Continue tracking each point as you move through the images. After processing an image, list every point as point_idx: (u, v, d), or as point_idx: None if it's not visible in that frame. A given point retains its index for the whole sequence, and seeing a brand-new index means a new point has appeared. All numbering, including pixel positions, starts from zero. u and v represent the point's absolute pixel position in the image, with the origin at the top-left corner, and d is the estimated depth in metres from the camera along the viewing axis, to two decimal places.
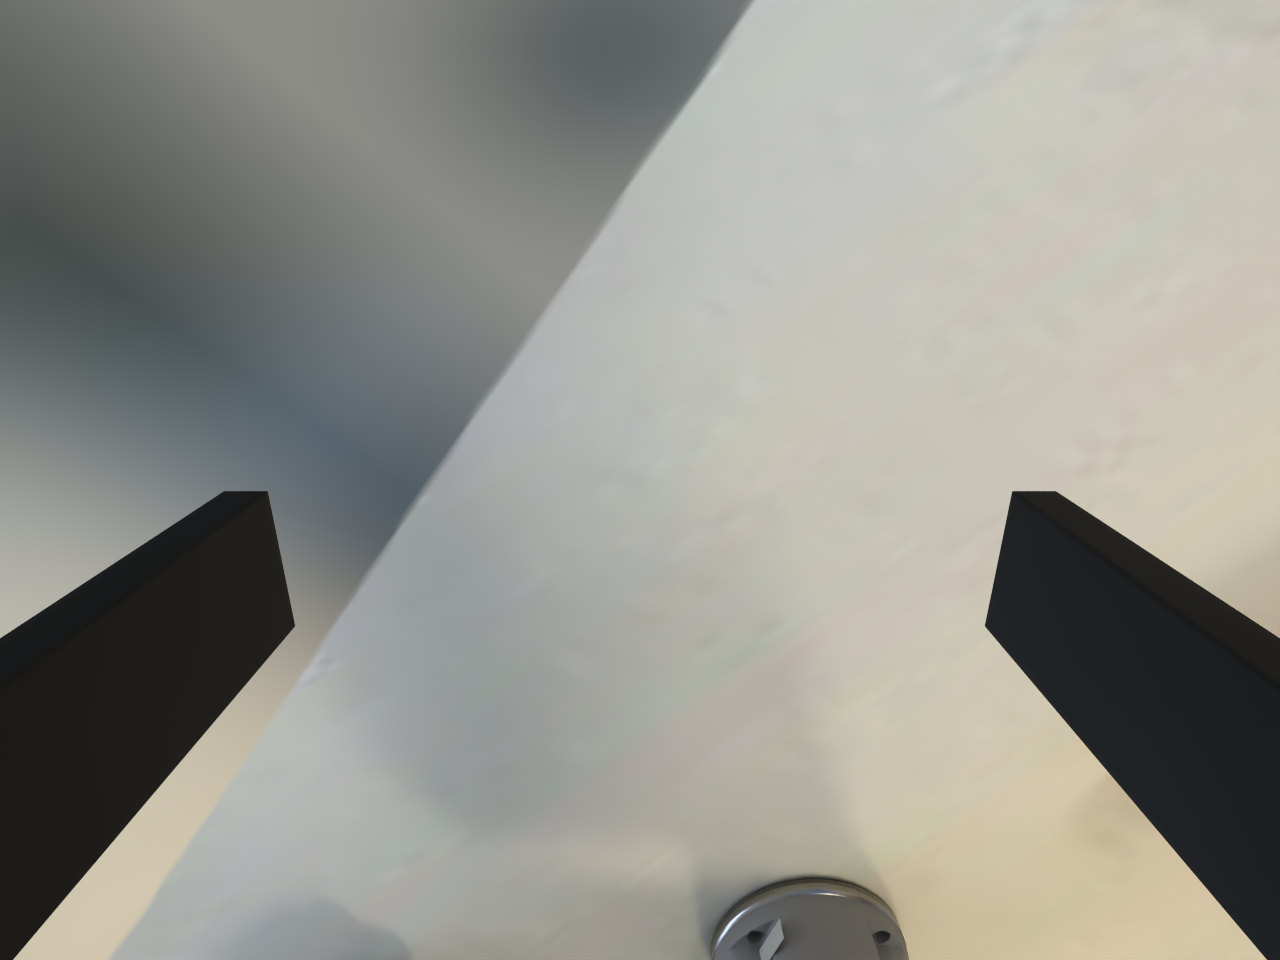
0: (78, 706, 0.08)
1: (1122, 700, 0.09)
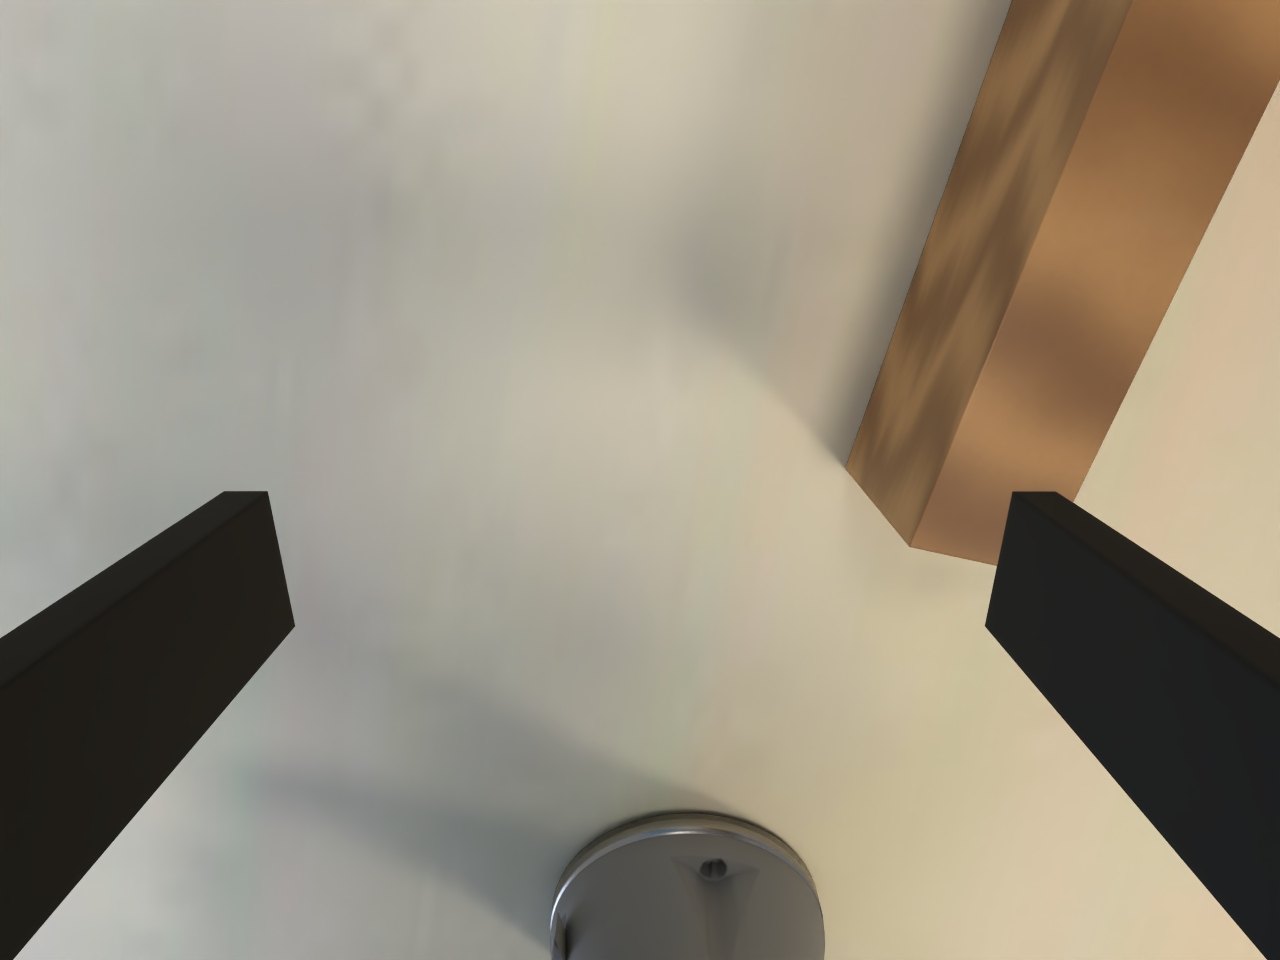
0: (78, 706, 0.08)
1: (1122, 700, 0.09)
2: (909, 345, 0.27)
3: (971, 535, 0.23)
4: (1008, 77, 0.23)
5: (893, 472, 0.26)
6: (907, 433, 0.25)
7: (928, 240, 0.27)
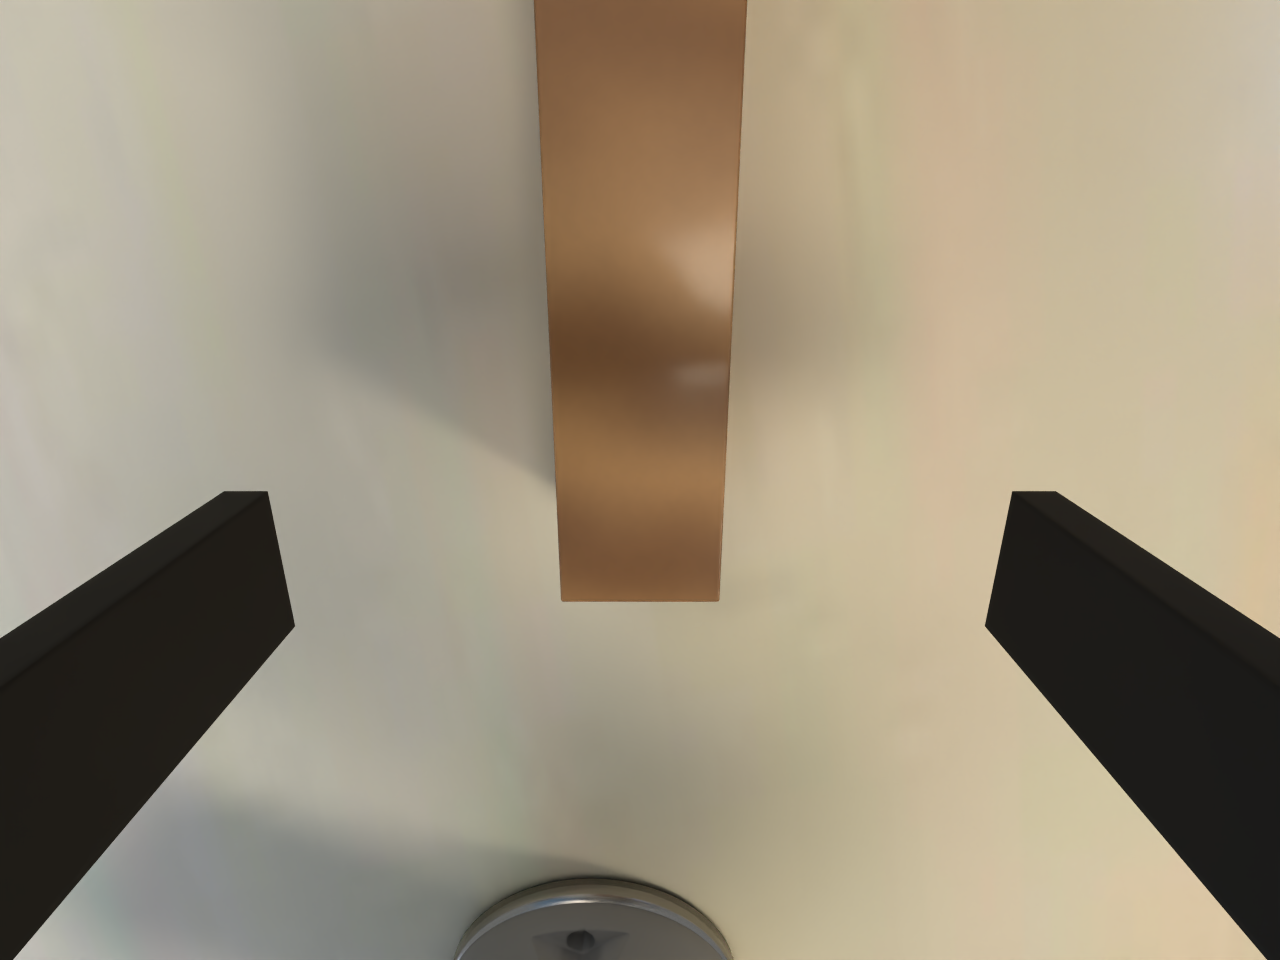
0: (78, 705, 0.08)
1: (1122, 700, 0.09)
2: None
3: (624, 575, 0.20)
4: None
5: None
6: None
7: None
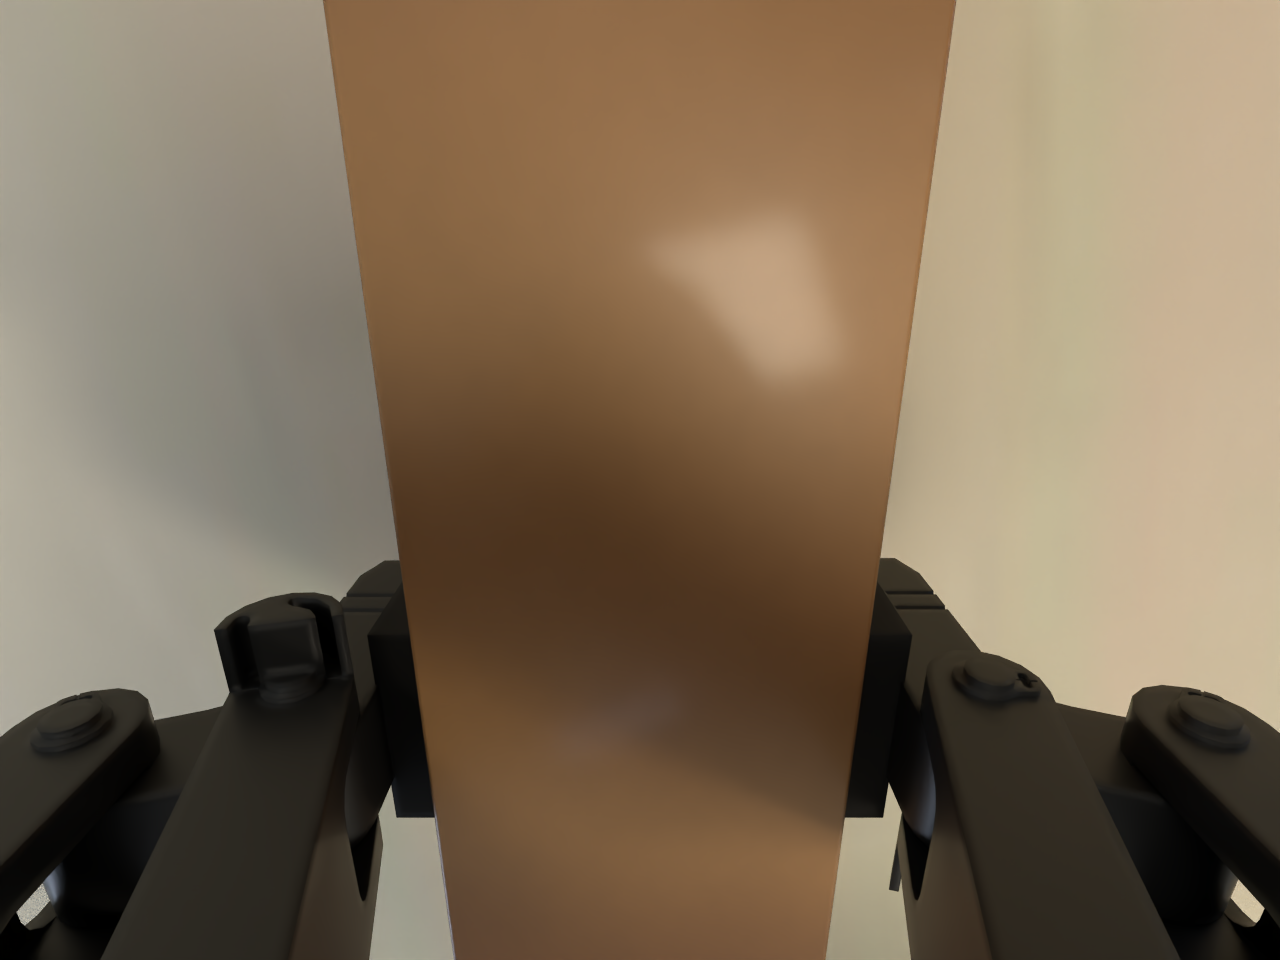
0: None
1: None
2: None
3: None
4: None
5: None
6: None
7: None
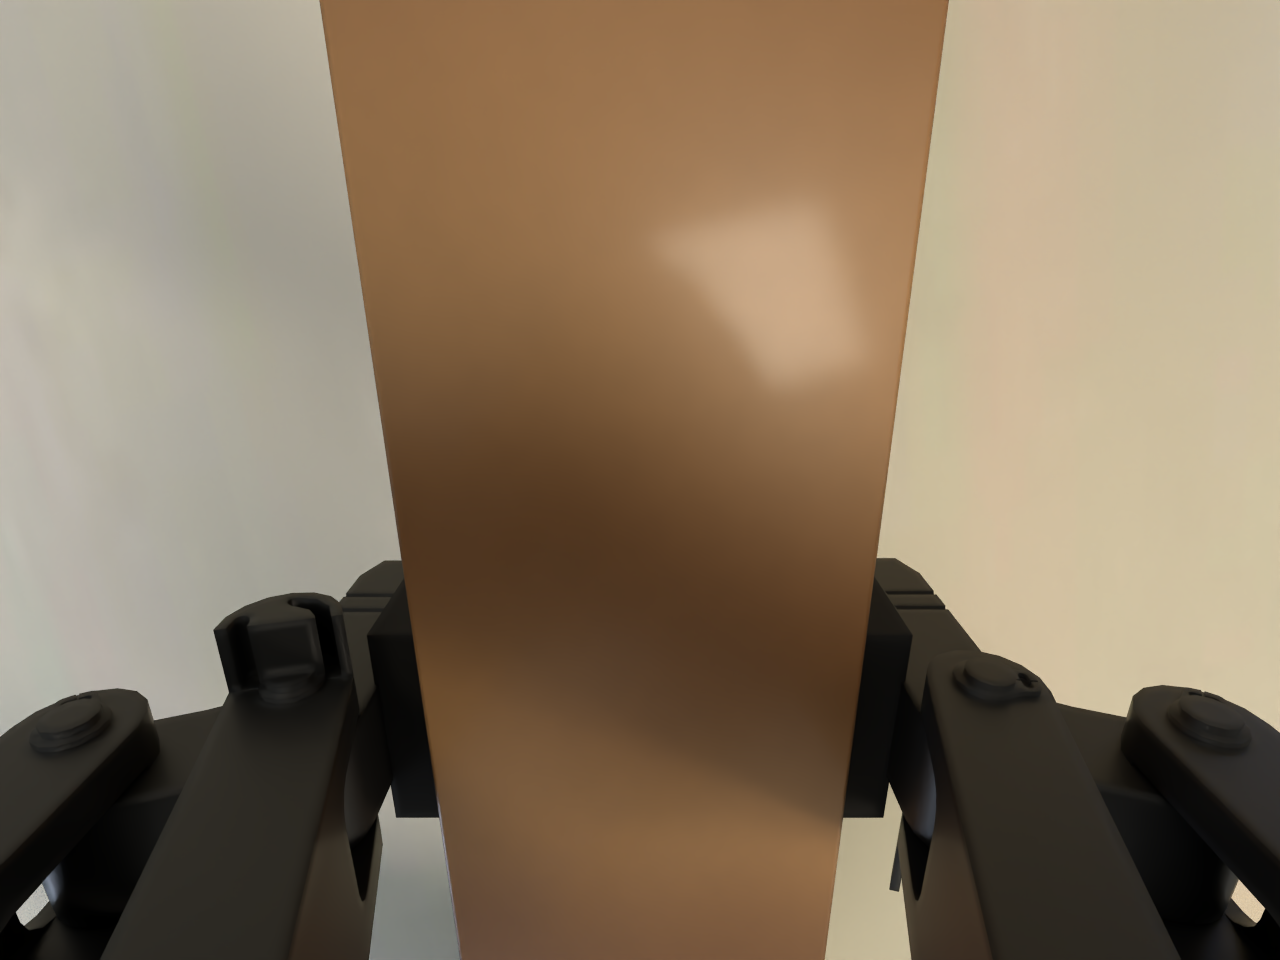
0: None
1: None
2: None
3: None
4: None
5: None
6: None
7: None
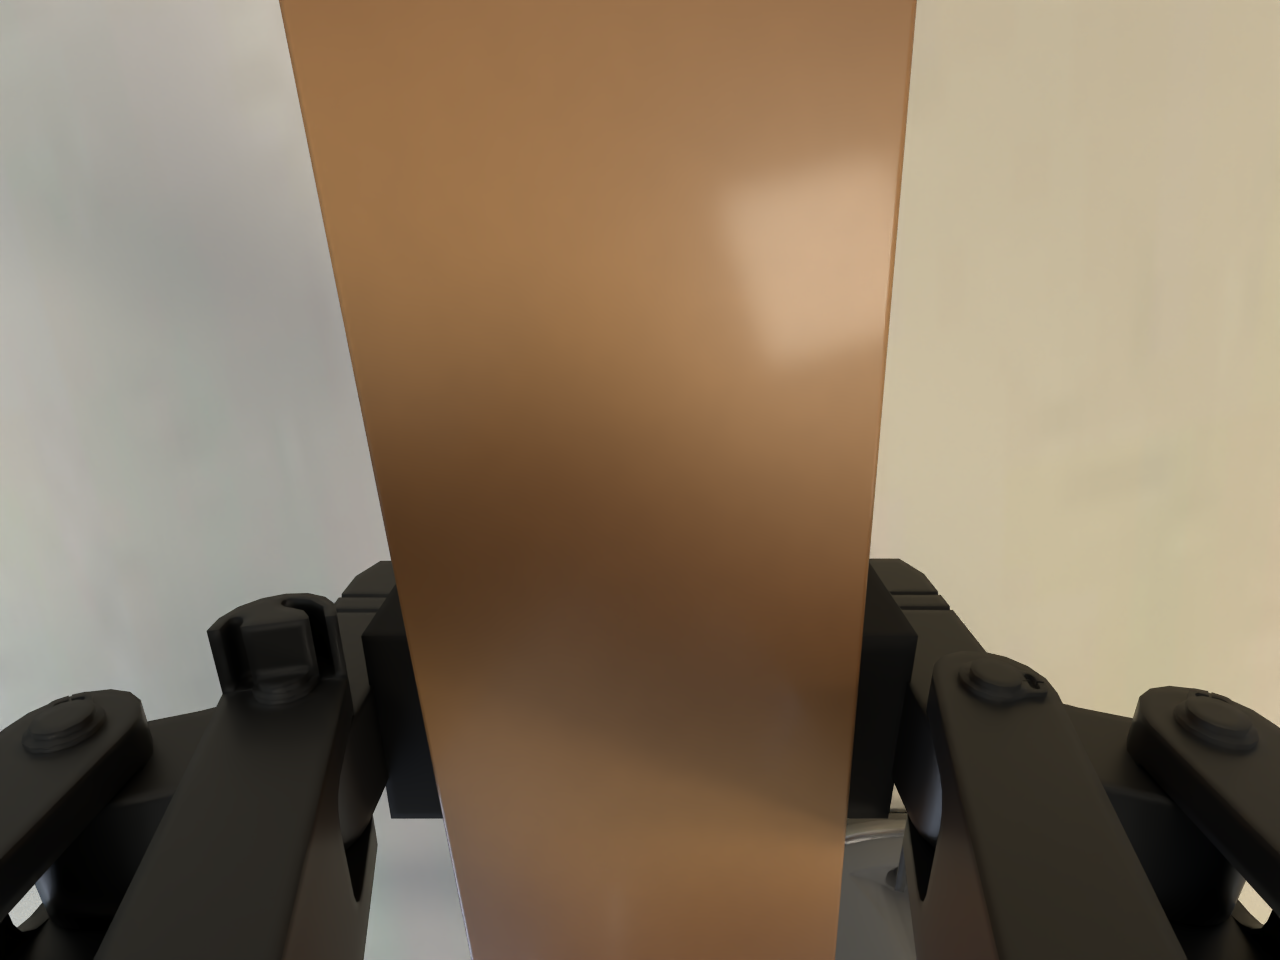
0: None
1: None
2: None
3: None
4: None
5: None
6: None
7: None
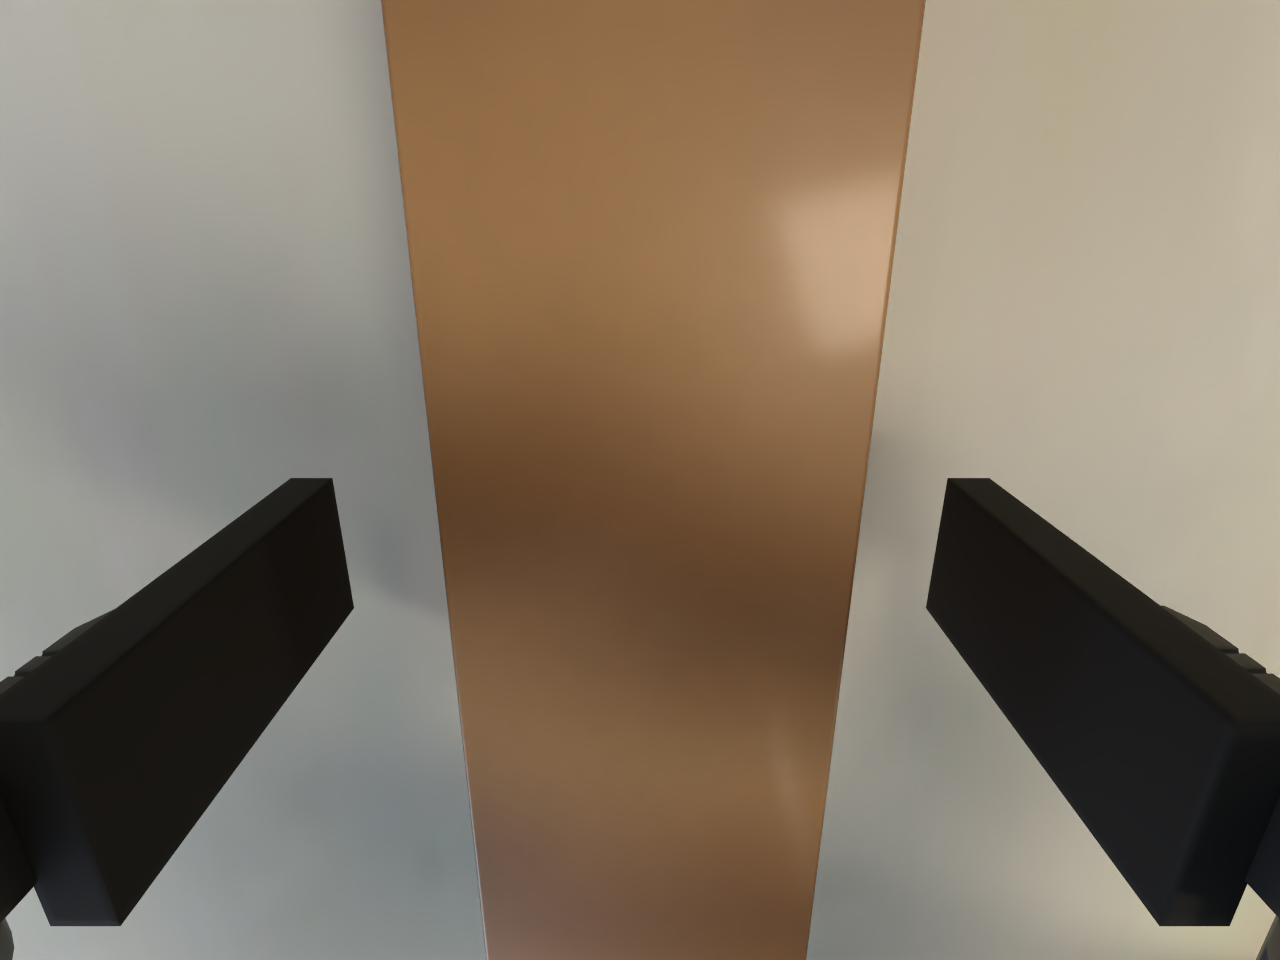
0: (186, 671, 0.09)
1: (1033, 670, 0.10)
2: None
3: (615, 938, 0.10)
4: None
5: None
6: None
7: None
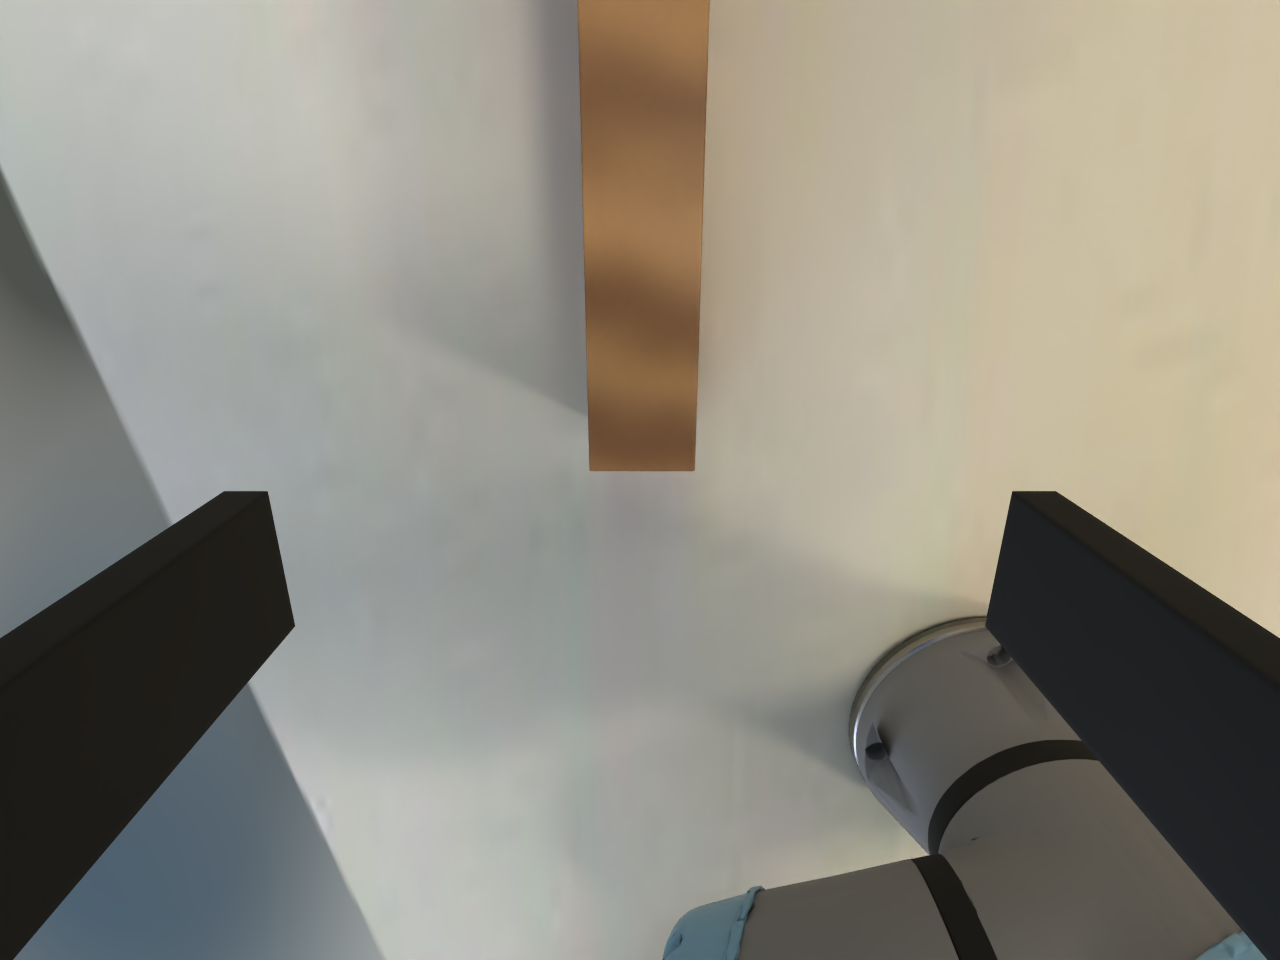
0: (78, 705, 0.08)
1: (1122, 700, 0.09)
2: None
3: (632, 452, 0.31)
4: None
5: None
6: None
7: None
